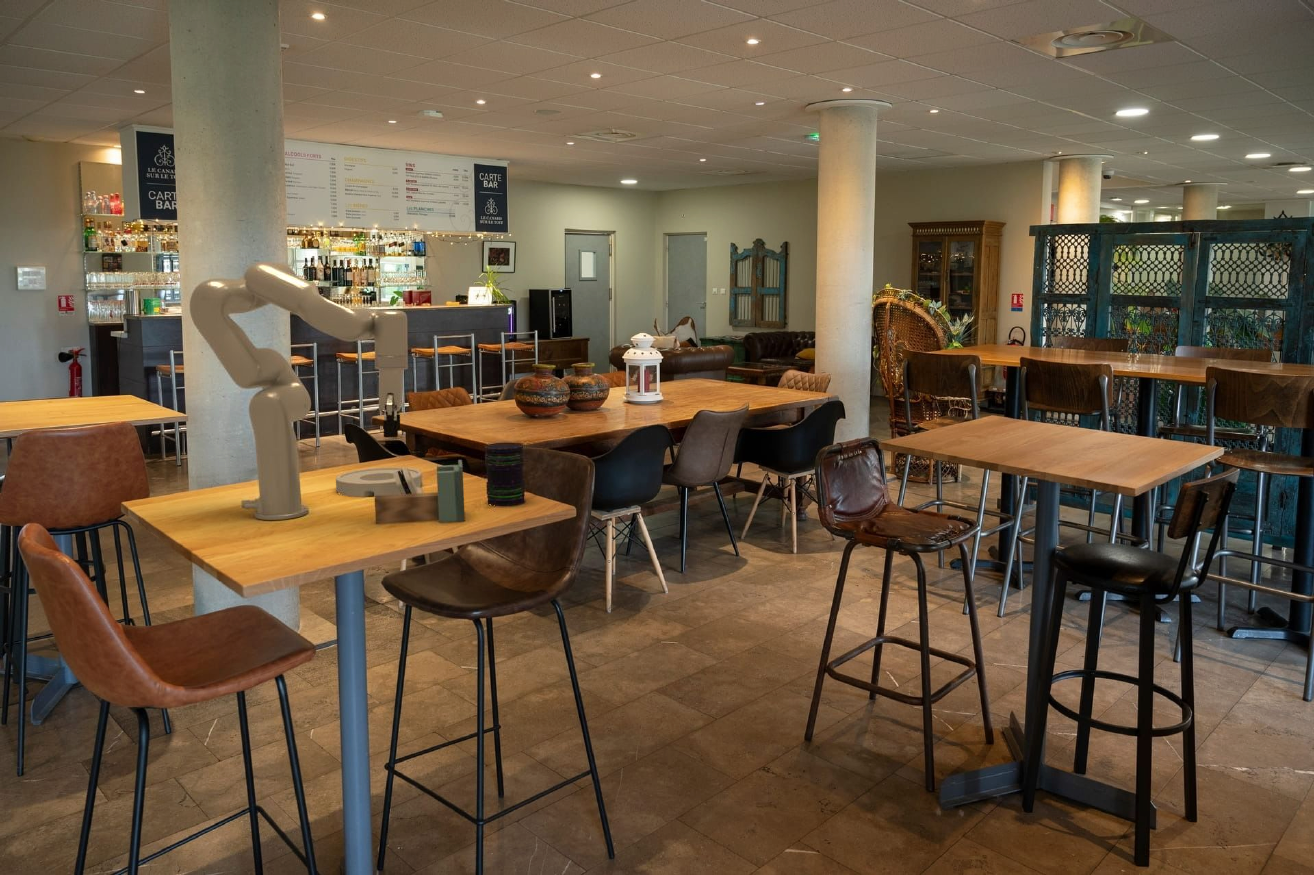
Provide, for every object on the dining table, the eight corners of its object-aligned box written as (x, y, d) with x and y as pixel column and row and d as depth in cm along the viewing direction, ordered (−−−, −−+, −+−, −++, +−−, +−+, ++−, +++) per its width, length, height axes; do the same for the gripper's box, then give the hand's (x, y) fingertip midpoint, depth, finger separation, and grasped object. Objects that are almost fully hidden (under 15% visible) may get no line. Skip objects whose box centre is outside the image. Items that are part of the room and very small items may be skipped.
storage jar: (499, 508, 245) (496, 450, 242) (479, 502, 252) (477, 445, 250) (532, 502, 251) (531, 445, 249) (512, 496, 258) (510, 441, 256)
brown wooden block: (375, 524, 230) (374, 491, 229) (376, 520, 234) (375, 487, 233) (448, 519, 234) (446, 487, 233) (448, 515, 238) (446, 483, 236)
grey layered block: (427, 507, 247) (411, 471, 245) (409, 514, 246) (394, 479, 244) (423, 494, 263) (409, 460, 261) (407, 501, 262) (392, 467, 260)
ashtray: (320, 490, 271) (319, 476, 270) (393, 477, 288) (392, 464, 287) (365, 502, 255) (364, 487, 255) (439, 488, 272) (438, 474, 272)
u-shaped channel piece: (439, 522, 231) (436, 468, 229) (439, 513, 240) (436, 461, 238) (464, 521, 232) (462, 466, 230) (463, 512, 241) (461, 459, 239)
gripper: (377, 359, 238) (378, 428, 241) (371, 365, 222) (372, 439, 224) (409, 359, 240) (409, 428, 243) (405, 366, 223) (406, 439, 226)
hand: (392, 433), depth 234 cm, fingers open, 9 cm apart
